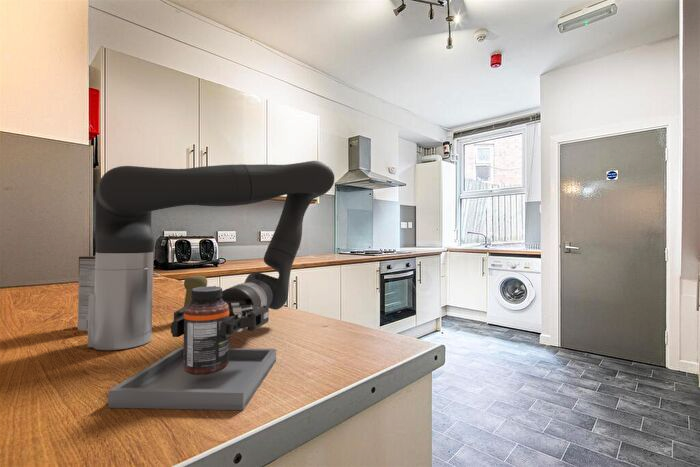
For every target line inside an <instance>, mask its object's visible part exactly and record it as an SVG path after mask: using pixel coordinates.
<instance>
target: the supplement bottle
mask: <svg viewBox="0 0 700 467" xmlns="http://www.w3.org/2000/svg"><path fill="white" fill-rule="evenodd" d="M222 291H223V288H222V287H221V286H214V285H213V286H211V285H210V286H208V285H207V287H198V288H194V289H192V296H191V298H192V301H191V303H190V304H188V305H187V306H186V307H185V309H184V334H183V347H184V357H183V359H184V362H183V364H184V370H185V372H187V373H189V374H193V375H207V374H212V373H215V372H218V371H220V370H222V369H224V368H225V367H226V366H227V365H228V362H229V348H230V336H229V337H227V338H221V322H222V321H224V320H225V319H227V318H228V317H229V306H228V304H227V303H226V302H224V301H223V299H222V298H221V297H222V296H223V295H222Z"/></svg>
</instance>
